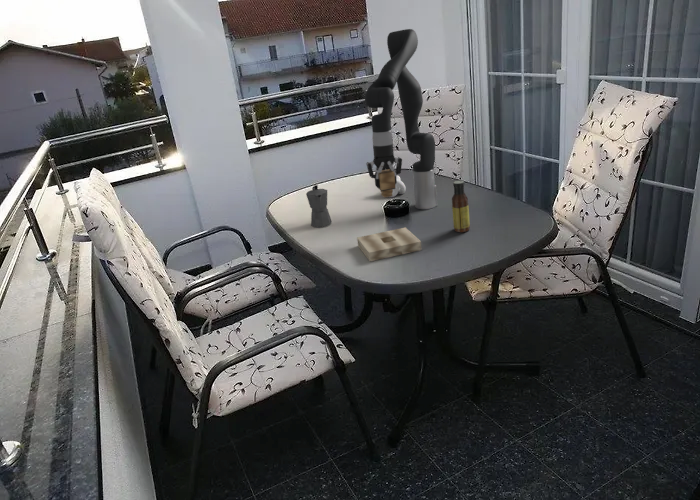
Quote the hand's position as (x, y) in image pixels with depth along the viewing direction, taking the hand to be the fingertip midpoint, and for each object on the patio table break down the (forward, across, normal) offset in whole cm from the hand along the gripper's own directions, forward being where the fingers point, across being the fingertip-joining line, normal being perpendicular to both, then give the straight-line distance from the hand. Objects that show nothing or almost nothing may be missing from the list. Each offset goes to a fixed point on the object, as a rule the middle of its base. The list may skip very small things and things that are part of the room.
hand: (386, 186), depth 194 cm
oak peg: (+4, 0, 0) cm, 4 cm away
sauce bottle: (+20, -27, +10) cm, 35 cm away
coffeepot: (+21, +23, -28) cm, 42 cm away
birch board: (+20, +4, +12) cm, 24 cm away
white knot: (+20, -19, -48) cm, 55 cm away
